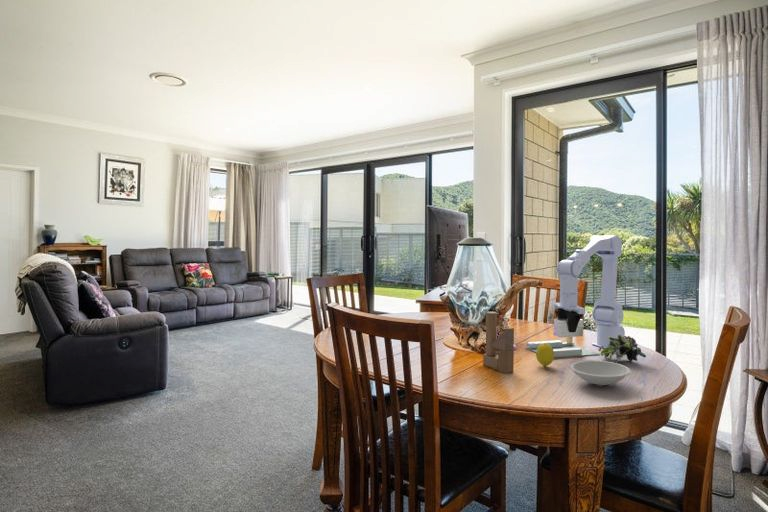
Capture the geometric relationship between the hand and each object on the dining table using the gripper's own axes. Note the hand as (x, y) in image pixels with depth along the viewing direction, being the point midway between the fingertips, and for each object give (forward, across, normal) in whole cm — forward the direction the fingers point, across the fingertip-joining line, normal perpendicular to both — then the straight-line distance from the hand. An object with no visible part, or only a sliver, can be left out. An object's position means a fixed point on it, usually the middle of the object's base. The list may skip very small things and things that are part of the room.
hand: (568, 330), depth 148 cm
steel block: (+2, 0, 0) cm, 2 cm away
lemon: (+10, +9, -16) cm, 20 cm away
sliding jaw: (+9, -12, +2) cm, 15 cm away
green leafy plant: (+10, +10, +13) cm, 19 cm away
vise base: (+9, -7, +2) cm, 12 cm away
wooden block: (+10, +7, -32) cm, 34 cm away
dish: (+10, +28, -11) cm, 31 cm away
